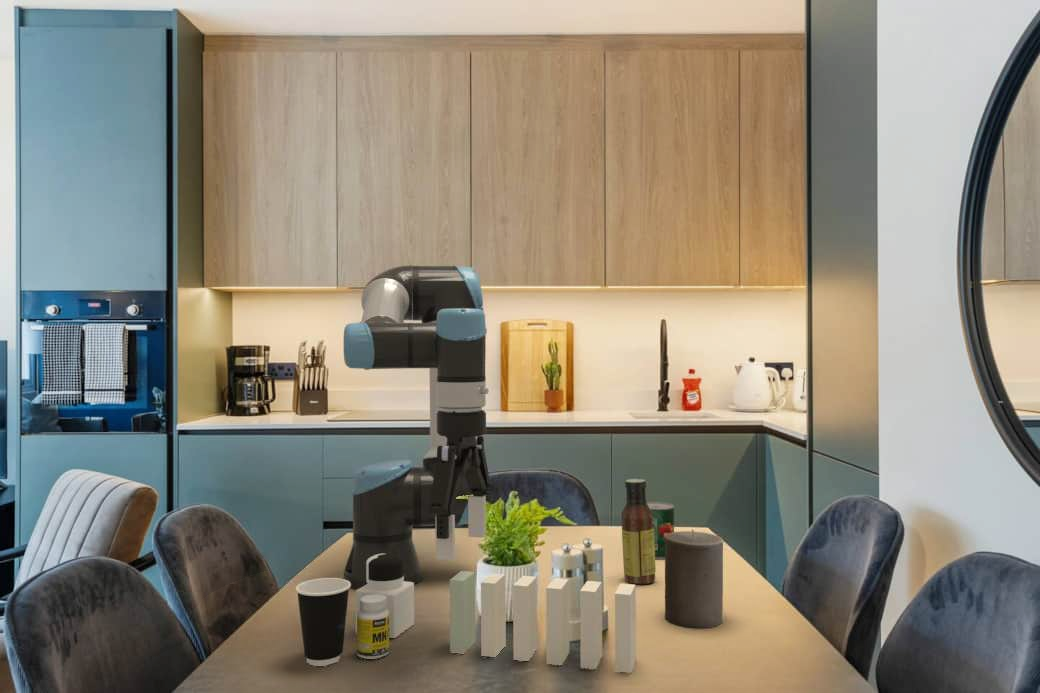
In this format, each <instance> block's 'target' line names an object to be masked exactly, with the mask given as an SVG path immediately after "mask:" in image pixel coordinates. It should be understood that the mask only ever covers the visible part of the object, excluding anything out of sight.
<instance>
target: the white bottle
mask: <svg viewBox="0 0 1040 693" xmlns="http://www.w3.org/2000/svg"><path fill="white" fill-rule="evenodd" d="M366 582H367V583H368V584H367V585H365V586H363V587H361V588H359V589H355V597H354V598H355V599H354V600H355V608H354V609H355V634H356V635H357V614H358V612H359V611H360V610H361V609H360V598H361V597H363V596H367V595H374V594H377V595H384V596H386V597H387V607H386V609H387V610H388V611H389V638H395V639H396V638H398V637H399V636H400V635H402V634H403V633H404V632H406V631H407V630H409V629H410V628H412V625H413V626H414V625H415V584H414V583H413V582H406V581H404V559H403V558H402V557H401V556H399V555H397V554H391V553H384V554H377V555H374V556H372V557H370V558H369V559H368V560H367V561H366ZM405 630H406V631H405ZM401 633H402V634H401Z"/></svg>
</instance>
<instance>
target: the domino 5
mask: <svg viewBox="0 0 1040 693" xmlns="http://www.w3.org/2000/svg"><path fill="white" fill-rule="evenodd" d="M636 585H637V584H632V583H619V586H618V587H617V589H616V591H615V593H614V639H615V640H614V642H615V644H614V645H615V646H614V648H615V649H614V652H615V653H614V660H615V661H614V664H615V665H614V666H615V667H614V668H615V671H619V672H618V673H620V672H629V673H631V672H633V670H634V667H635V665H634V664H636V662H637V621H636V620H637V613H636V612H637V609H636V607H637V604H636V603H637V602H636V601H637V598H636V595H637V594H636V591H637V590H636ZM635 661H636V662H635ZM633 666H634V667H633ZM632 669H633V670H632ZM629 673H628V674H629ZM631 674H632V673H631Z"/></svg>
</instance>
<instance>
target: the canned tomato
mask: <svg viewBox="0 0 1040 693" xmlns="http://www.w3.org/2000/svg"><path fill="white" fill-rule="evenodd" d="M646 503H647V505H648V507H649V508H650V510H651V512H652V518H653V519H652V520H653V528H654V547H655V560H665V536H666V535H667V534H669V533H672V532H675V506H674V504H672V503H668V502H660V501H659V502H658V501H657V502H656V501H654V502H653V501H652V502H651V501H650V502H649V501H648V502H647V501H646Z"/></svg>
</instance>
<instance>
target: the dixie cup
mask: <svg viewBox="0 0 1040 693" xmlns="http://www.w3.org/2000/svg"><path fill="white" fill-rule="evenodd" d="M350 588H351V583H350V582H349V581H348V580H345V579H344V578H340V577H339V578H338V577H321V578H320V577H319V578H314V579H309V580H306V581H302V582H300V583H298V584H297V585H296V586H295V592H296V593H297V600H298V608H299V615H300V616H299V617H300V627H301V635H302V643H303V644H302V645H303V653H304V657H305V658H306V663H309V664H311V665H327V664H331V663H334V662H336V661H338V660H339V659H340V660H341V656H342V653H343V651H344V650H343V649H344V639H345V630H346V621H347V610H348V601H349V591H350Z"/></svg>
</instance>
